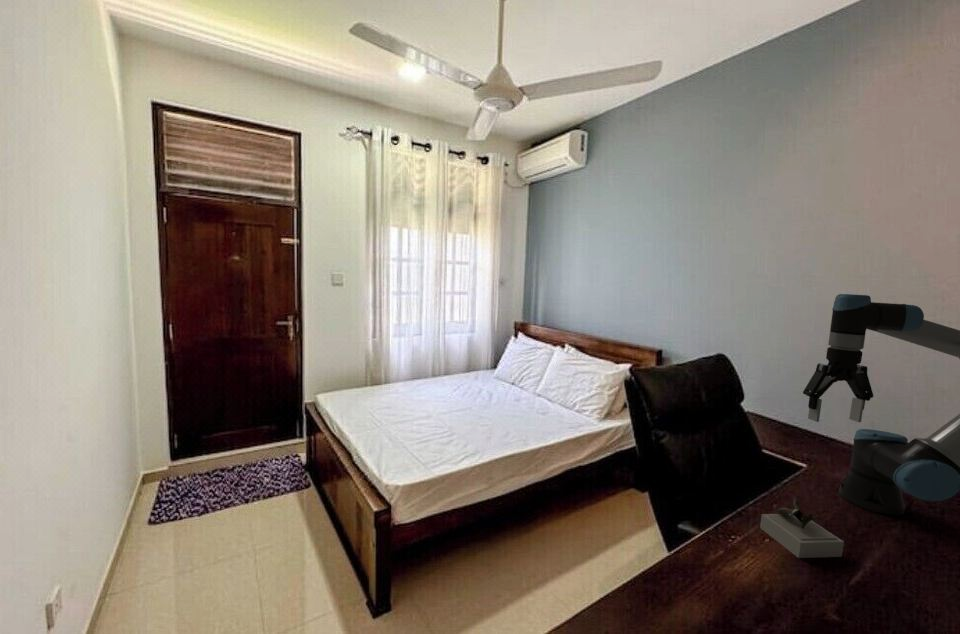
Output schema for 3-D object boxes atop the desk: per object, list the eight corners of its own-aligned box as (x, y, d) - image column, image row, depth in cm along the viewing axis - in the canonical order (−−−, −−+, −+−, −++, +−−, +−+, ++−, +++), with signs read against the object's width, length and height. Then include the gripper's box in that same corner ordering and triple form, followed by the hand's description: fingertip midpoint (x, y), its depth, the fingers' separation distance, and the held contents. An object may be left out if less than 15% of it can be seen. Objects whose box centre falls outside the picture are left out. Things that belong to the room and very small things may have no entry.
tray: (799, 527, 113) (801, 512, 113) (841, 556, 102) (844, 540, 101) (759, 527, 112) (761, 513, 112) (798, 558, 100) (800, 541, 100)
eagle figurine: (826, 526, 105) (801, 501, 113) (818, 506, 103) (792, 482, 112) (797, 538, 106) (774, 512, 115) (788, 518, 104) (765, 493, 113)
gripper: (869, 347, 121) (858, 416, 123) (793, 344, 118) (784, 415, 120) (897, 352, 114) (886, 425, 116) (818, 349, 111) (807, 424, 113)
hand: (834, 420), depth 118 cm, fingers open, 13 cm apart
